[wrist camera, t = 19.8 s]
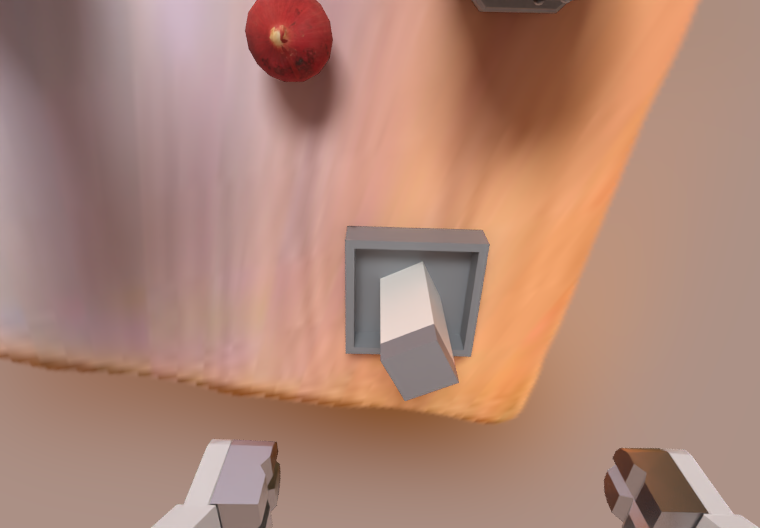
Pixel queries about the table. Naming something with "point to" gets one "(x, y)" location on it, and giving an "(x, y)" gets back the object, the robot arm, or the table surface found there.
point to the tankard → (520, 5)
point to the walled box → (399, 251)
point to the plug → (414, 333)
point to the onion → (289, 38)
